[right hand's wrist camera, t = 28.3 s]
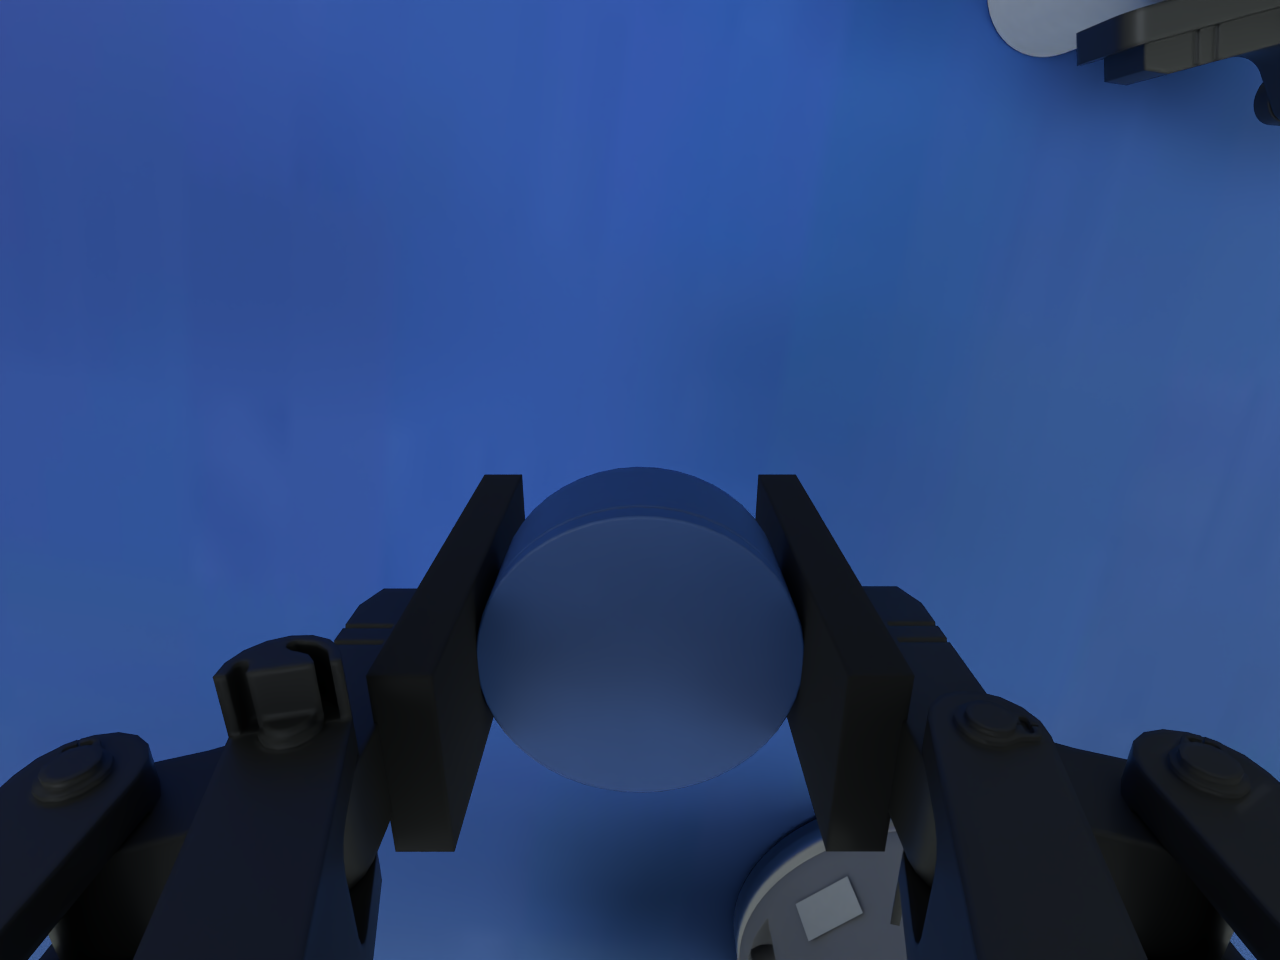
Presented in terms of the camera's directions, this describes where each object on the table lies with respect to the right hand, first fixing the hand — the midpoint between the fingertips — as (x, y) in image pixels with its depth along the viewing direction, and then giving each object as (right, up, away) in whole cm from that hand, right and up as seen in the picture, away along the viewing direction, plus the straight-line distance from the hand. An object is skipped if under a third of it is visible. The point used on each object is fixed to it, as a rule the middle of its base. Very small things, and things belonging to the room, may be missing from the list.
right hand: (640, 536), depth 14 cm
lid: (0, -1, -4) cm, 4 cm away
